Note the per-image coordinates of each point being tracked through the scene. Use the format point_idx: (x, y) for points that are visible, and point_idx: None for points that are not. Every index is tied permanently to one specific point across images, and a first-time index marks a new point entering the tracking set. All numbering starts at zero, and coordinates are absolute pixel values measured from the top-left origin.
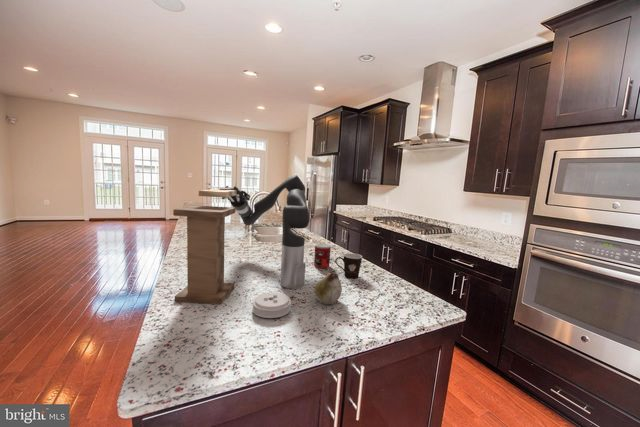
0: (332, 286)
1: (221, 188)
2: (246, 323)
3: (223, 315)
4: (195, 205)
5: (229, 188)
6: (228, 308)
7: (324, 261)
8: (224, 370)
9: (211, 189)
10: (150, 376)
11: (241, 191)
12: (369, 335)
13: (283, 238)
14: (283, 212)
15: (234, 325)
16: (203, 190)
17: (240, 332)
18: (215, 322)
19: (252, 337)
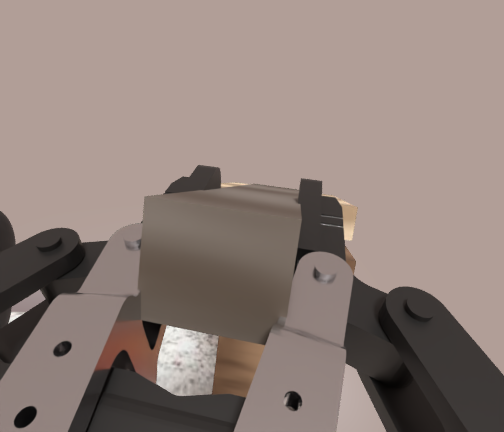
0: None
1: (292, 189)
2: (166, 356)
3: (199, 378)
4: (347, 259)
5: (247, 185)
6: (190, 395)
7: None
8: None
9: (340, 202)
10: None
11: (88, 243)
12: (18, 316)
13: (6, 324)
14: (7, 228)
15: (183, 355)
16: (326, 195)
17: (177, 344)
18: (210, 365)
19: (164, 335)
